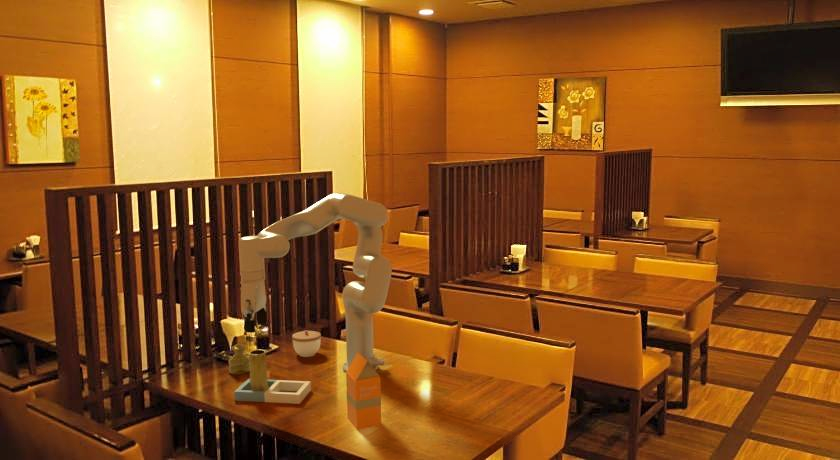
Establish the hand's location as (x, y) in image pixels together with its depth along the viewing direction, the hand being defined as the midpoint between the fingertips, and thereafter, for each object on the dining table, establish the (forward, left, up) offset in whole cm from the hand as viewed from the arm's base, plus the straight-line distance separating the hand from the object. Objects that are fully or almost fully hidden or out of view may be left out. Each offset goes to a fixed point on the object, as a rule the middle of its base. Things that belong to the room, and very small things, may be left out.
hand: (256, 327), depth 225 cm
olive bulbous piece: (+15, -20, -23) cm, 34 cm away
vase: (0, 0, -23) cm, 23 cm away
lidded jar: (-3, -41, -23) cm, 47 cm away
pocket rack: (-5, 0, -22) cm, 23 cm away
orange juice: (-39, +16, -23) cm, 48 cm away
